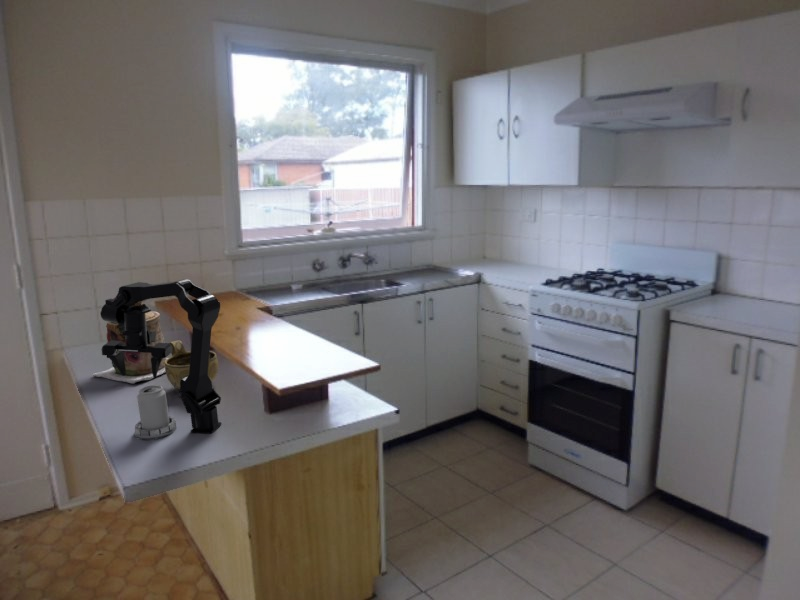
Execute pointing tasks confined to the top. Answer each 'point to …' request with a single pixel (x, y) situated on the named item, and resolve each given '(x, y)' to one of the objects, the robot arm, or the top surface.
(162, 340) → the cookie jar
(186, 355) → the ceramic bowl
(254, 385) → the top surface
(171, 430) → the rosette plate
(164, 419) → the can
